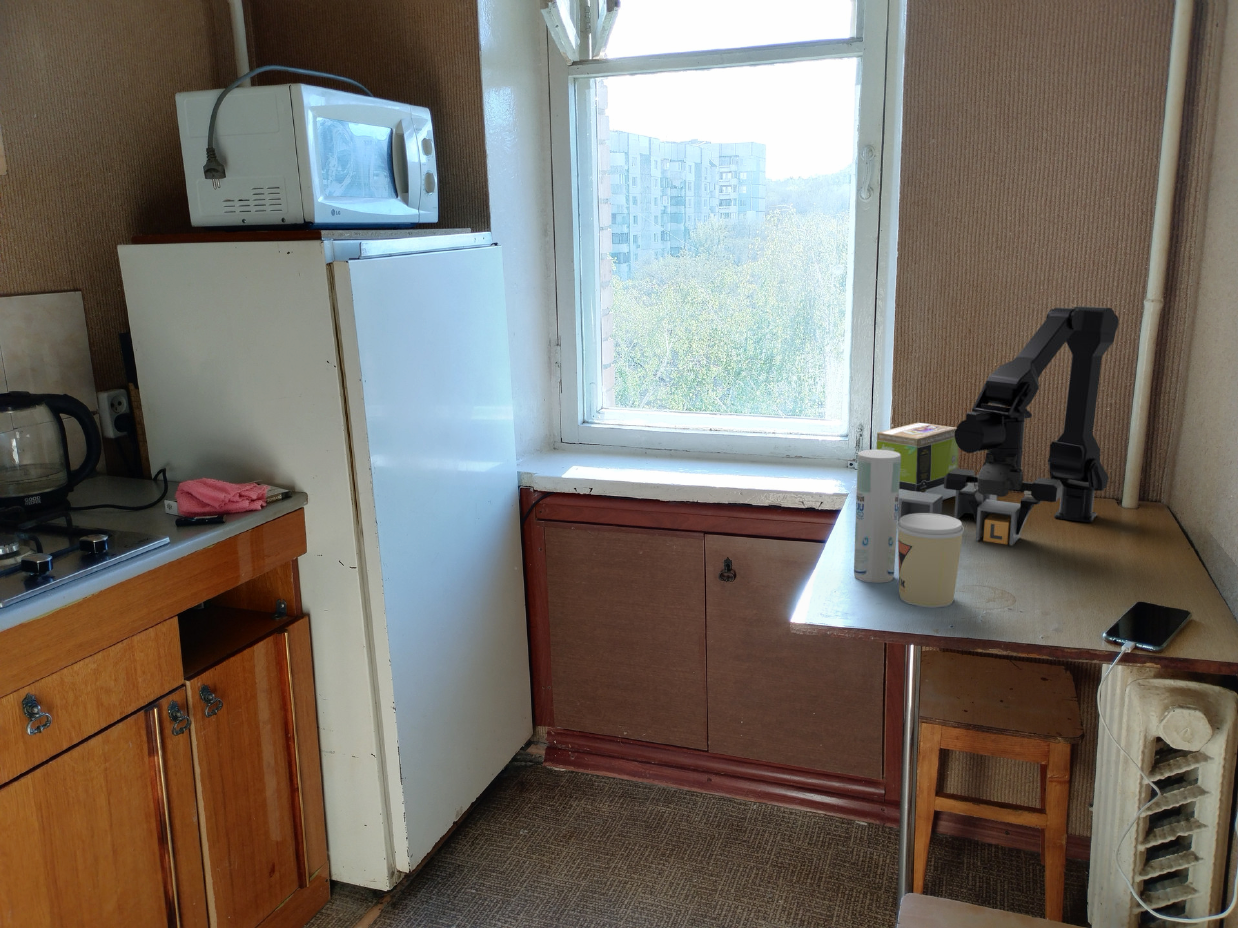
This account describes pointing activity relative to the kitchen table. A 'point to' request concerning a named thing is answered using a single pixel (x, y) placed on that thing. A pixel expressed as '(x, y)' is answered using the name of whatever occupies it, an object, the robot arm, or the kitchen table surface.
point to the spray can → (876, 515)
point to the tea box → (922, 456)
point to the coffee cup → (928, 558)
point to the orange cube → (997, 529)
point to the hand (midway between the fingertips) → (998, 531)
